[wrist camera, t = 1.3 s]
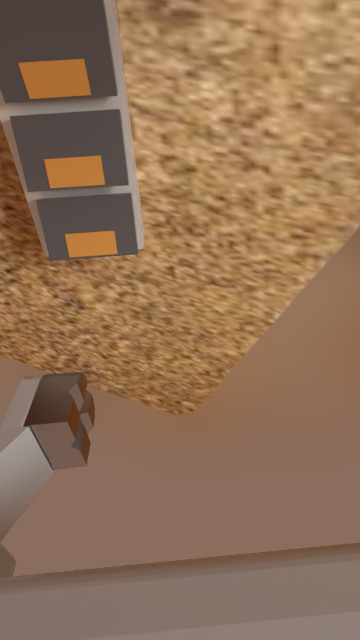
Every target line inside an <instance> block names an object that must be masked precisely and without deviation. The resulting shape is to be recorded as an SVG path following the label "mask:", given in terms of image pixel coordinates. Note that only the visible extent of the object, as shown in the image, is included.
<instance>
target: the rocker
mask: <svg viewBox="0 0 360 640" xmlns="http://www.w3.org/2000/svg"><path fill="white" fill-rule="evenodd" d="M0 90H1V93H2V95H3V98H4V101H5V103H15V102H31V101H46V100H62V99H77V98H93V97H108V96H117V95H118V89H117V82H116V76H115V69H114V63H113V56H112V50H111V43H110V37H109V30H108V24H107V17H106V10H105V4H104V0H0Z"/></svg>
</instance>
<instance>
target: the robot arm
mask: <svg viewBox="0 0 360 640" xmlns="http://www.w3.org/2000/svg"><path fill="white" fill-rule="evenodd" d="M87 383H88V381H87V379H86V376H85V374H84V373H82V372H77V373H62V374H47V375H39V376H25V377H24V378H23V379H22V380H21V381H20V383H19V386H18V388H17V390H16V393H15V395H14V397H13V399H12V402H11V404H10V406H9V409H8V411H7V413H6V415H5V418H4V420H3V422H2V425H1V427H0V542H1V541H2V540H3V538H4V537H5V536H6V534H7V533H8V532H9V530H10V529H11V528H12V526H13V525H14V524H15V522H16V521H17V520H18V518H19V517H20V516H21V514H22V513H23V512H24V510H25V509H26V508H27V507H28V505H29V504H30V503H31V501H32V500H33V499H34V497H35V496H36V495H37V493H38V492H39V491H40V489H41V488H42V487H43V485H44V484H45V483H46V481H47V480H48V479H49V477H50V476H51V475H52V473H53V470H58V469H66V468H74V467H82V466H87V460H88V455H89V449H90V444H91V442H90V440H89V437H88V433H89V432H90V431H91V430H92V429H93V426H94V419H95V407H94V400H93V397H92V394H91V393H90V392H89V391H87V390H86V388H87ZM15 566H16V560H15V559H14V557H13V555H11V554H10V552H9V551H8V550H7V549H6V548H5V547H4V546H3V545H2V544H1V543H0V640H360V543H352V544H351V543H350V544H341V545H331V546H320V547H309V548H299V549H289V550H279V551H268V552H259V553H248V554H237V555H228V556H217V557H207V558H196V559H186V560H176V561H166V562H156V563H145V564H135V565H125V566H116V567H115V566H114V567H104V568H94V569H85V570H74V571H63V572H54V573H43V574H33V575H22V576H13V573H14V569H15Z"/></svg>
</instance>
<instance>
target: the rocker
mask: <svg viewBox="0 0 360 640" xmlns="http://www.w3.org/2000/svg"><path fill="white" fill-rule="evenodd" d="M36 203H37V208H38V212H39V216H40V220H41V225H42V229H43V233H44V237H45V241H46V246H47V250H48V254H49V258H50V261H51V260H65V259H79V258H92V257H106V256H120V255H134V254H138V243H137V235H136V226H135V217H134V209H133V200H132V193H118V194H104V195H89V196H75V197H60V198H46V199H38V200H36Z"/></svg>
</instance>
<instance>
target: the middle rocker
mask: <svg viewBox="0 0 360 640" xmlns="http://www.w3.org/2000/svg"><path fill="white" fill-rule="evenodd" d="M10 120H11V124H12V128H13V132H14V137H15V141H16V145H17V149H18V153H19V157H20V161H21V165H22V169H23V174H24V178H25V182H26V186H27V190H28V192H38V191H53V190H68V189H82V188H97V187H111V186H126V185H129V178H128V170H127V161H126V153H125V144H124V136H123V128H122V119H121V111H120V109H112V110H96V111H81V112H66V113H50V114H35V115H20V116H10Z"/></svg>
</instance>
